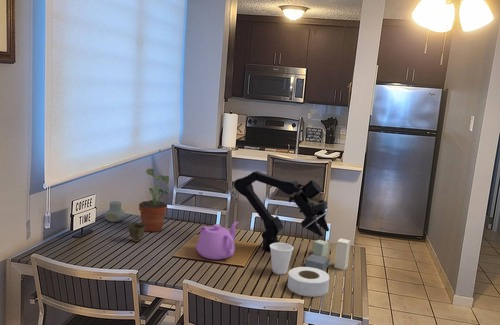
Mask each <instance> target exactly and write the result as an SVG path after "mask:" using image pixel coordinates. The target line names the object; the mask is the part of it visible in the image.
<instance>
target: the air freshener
mask: <svg viewBox="0 0 500 325" xmlns="http://www.w3.org/2000/svg"><path fill="white" fill-rule="evenodd" d="M126 216H127V214H126V212H125V211H124V210H123V209H122V202H121V201H118V200H116V201H110V202H109V209H108V210H107V211H106V212H104V219H105V220H106V221H107V222H110V223H119V222H122V221H123V220H125V218H126Z"/></svg>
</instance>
